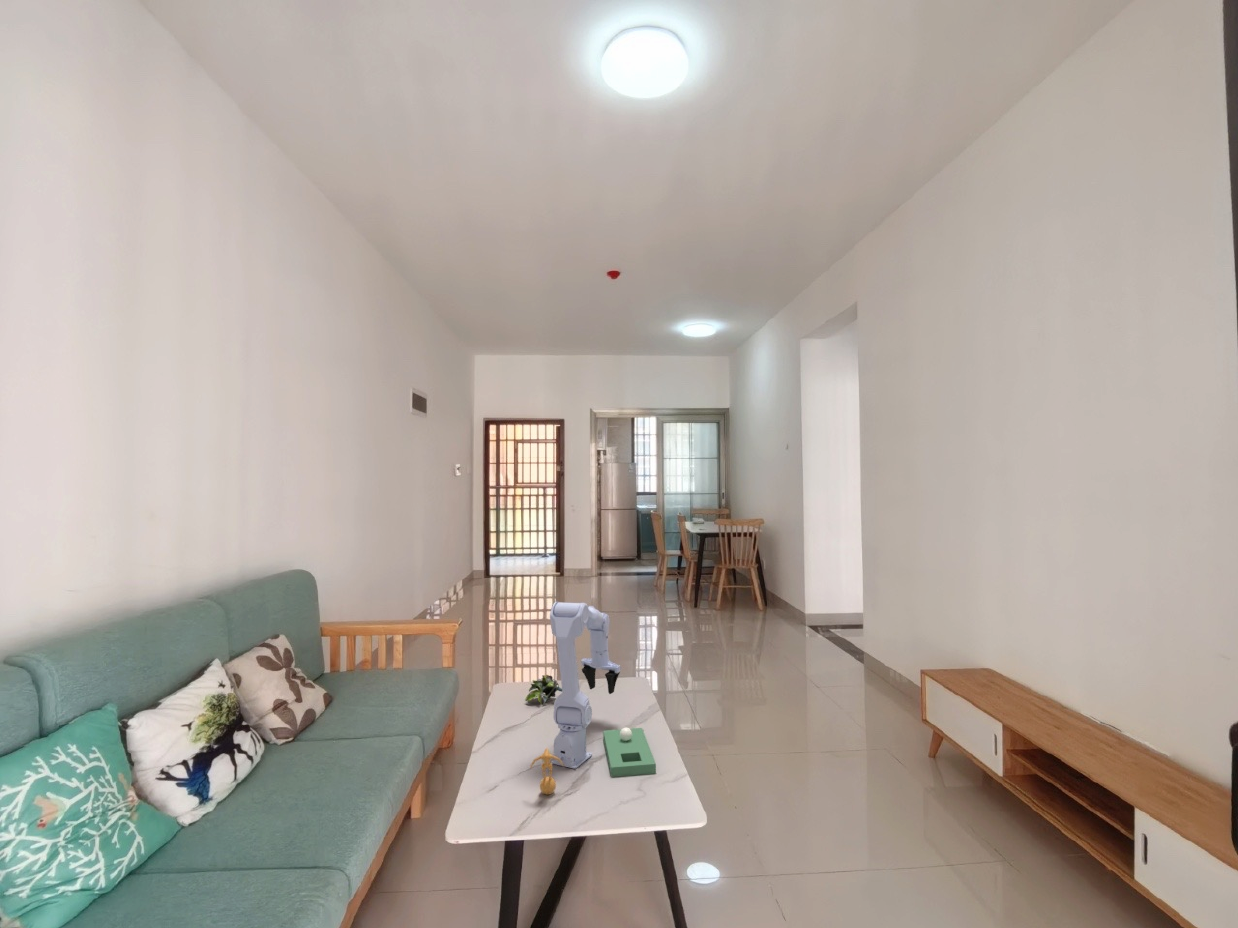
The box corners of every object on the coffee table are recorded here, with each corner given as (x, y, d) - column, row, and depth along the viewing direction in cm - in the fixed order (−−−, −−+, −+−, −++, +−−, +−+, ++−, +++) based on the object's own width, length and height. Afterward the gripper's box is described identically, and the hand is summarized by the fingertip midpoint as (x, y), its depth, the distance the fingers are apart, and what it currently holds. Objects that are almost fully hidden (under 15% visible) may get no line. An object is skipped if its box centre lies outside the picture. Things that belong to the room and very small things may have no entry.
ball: (628, 743, 172) (628, 731, 172) (617, 741, 173) (617, 728, 173) (634, 738, 175) (633, 726, 175) (623, 736, 176) (623, 724, 177)
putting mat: (656, 773, 159) (655, 763, 159) (611, 776, 157) (611, 767, 157) (642, 736, 182) (642, 727, 183) (603, 738, 181) (603, 730, 181)
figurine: (564, 788, 152) (563, 740, 152) (564, 800, 146) (562, 751, 146) (532, 790, 151) (531, 742, 152) (530, 802, 145) (529, 753, 146)
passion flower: (548, 713, 217) (566, 684, 219) (545, 719, 206) (565, 688, 209) (523, 695, 218) (541, 667, 221) (518, 700, 207) (538, 670, 210)
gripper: (625, 648, 192) (627, 689, 192) (589, 642, 200) (591, 681, 201) (612, 655, 186) (614, 698, 187) (576, 648, 194) (578, 689, 195)
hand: (601, 690), depth 193 cm, fingers open, 7 cm apart
